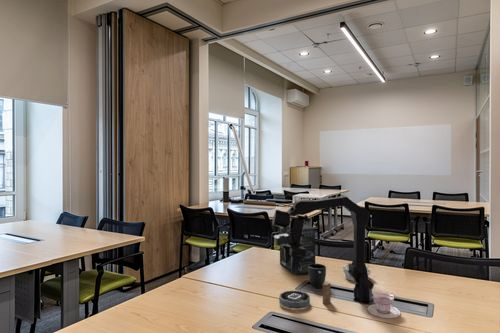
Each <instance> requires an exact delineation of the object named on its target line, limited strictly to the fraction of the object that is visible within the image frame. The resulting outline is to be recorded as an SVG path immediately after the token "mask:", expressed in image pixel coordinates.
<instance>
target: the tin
mask: <svg viewBox="0 0 500 333" xmlns="http://www.w3.org/2000/svg"><path fill="white" fill-rule="evenodd" d="M278 298H279V299H278V301H279V305H280V306H281V307H282V308H284V309H286V310H289V311H291V310H292V311H301V310H306V309H307V308H309V307H310V305H311V303H310V302H311V297H310V295H309V294H308V293H307V292H304V291H300V290H286V291H282V292H281V293H279V297H278Z"/></svg>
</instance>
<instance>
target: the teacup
mask: <svg viewBox="0 0 500 333" xmlns="http://www.w3.org/2000/svg"><path fill="white" fill-rule="evenodd" d="M372 298H374V299H373V300H374V301H375V303H374V304H370V305H368V307H367V311H368V312H369V313H370V314H372V315H373V316H376V317H379V318H382V319H395V318H398V317H399V316H401V311H400V310H399V309H398V308H396V307H394V306H392V304H393V301H394V300H395V296H394V295H393V294H392V293H389V292H386V291H385V292H383V291H378V292H375V293H372ZM389 312H390V313H389Z"/></svg>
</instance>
